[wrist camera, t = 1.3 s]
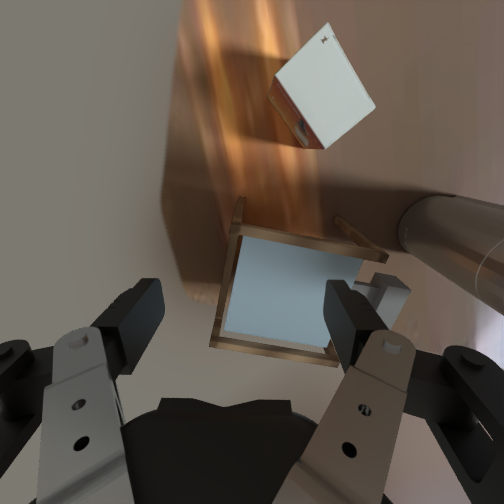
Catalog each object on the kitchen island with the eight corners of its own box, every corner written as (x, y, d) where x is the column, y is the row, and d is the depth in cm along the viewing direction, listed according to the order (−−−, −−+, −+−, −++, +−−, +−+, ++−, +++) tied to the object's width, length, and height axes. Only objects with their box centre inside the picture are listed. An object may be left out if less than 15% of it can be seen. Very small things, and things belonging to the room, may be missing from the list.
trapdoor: (403, 260, 27) (420, 273, 25) (363, 343, 32) (373, 361, 29) (244, 228, 26) (243, 238, 23) (225, 319, 31) (223, 336, 28)
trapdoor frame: (340, 217, 36) (389, 255, 23) (311, 300, 42) (337, 367, 29) (239, 196, 35) (231, 223, 22) (223, 284, 41) (208, 346, 28)
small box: (265, 97, 30) (271, 72, 21) (302, 61, 29) (327, 17, 19) (303, 150, 33) (324, 151, 23) (339, 120, 31) (378, 107, 22)
